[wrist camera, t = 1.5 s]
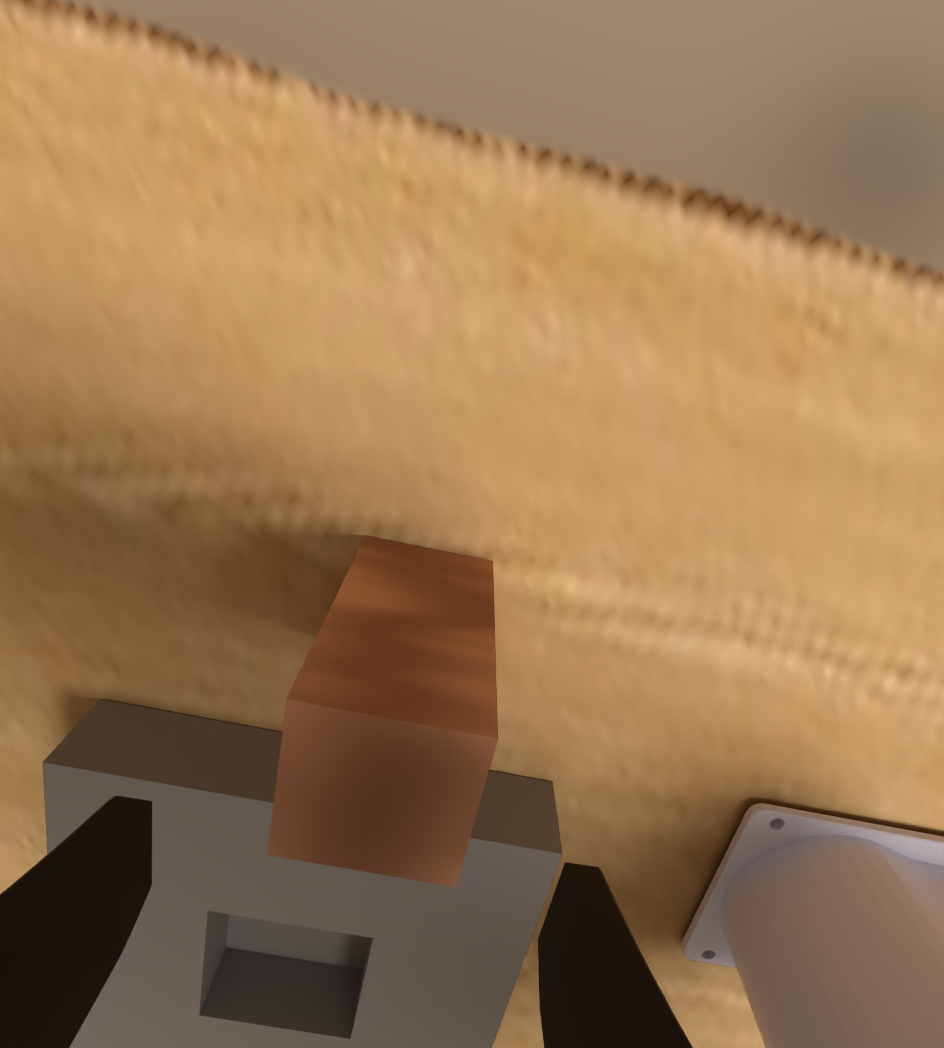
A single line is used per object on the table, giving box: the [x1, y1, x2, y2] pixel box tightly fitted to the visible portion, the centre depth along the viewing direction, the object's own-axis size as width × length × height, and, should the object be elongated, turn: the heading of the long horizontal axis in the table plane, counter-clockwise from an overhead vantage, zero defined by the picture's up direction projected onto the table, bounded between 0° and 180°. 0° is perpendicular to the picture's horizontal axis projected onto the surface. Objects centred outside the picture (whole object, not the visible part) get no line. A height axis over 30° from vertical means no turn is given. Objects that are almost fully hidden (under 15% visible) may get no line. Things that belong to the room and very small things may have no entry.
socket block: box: [43, 699, 562, 1048], centre depth 23 cm, size 16×16×3 cm
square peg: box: [267, 535, 498, 887], centre depth 16 cm, size 4×4×8 cm
